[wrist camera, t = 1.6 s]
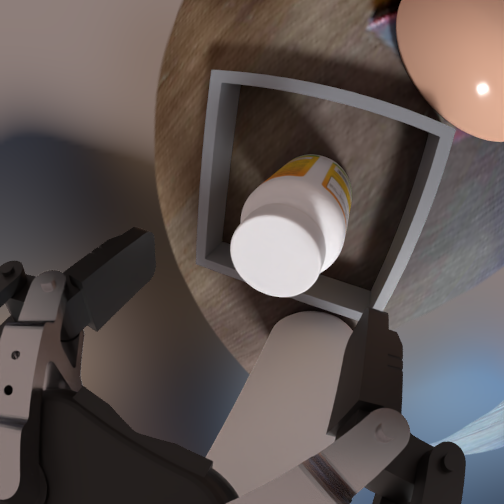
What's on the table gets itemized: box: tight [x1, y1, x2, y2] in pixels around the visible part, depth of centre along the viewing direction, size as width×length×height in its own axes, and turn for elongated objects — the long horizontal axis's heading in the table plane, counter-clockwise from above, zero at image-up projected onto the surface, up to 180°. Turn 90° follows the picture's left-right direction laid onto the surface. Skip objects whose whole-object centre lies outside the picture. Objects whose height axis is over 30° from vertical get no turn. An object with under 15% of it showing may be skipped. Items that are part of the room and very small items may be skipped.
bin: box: [196, 70, 456, 321], centre depth 19 cm, size 15×15×3 cm
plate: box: [396, 0, 504, 142], centre depth 10 cm, size 12×12×1 cm
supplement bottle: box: [230, 154, 352, 297], centre depth 16 cm, size 5×5×10 cm
